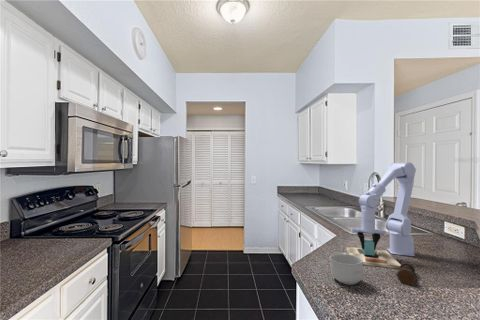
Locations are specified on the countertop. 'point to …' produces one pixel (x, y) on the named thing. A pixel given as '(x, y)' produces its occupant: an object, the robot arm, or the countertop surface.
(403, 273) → the bolt
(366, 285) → the countertop surface
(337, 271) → the teacup
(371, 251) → the slider block
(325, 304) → the countertop surface
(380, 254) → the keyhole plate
